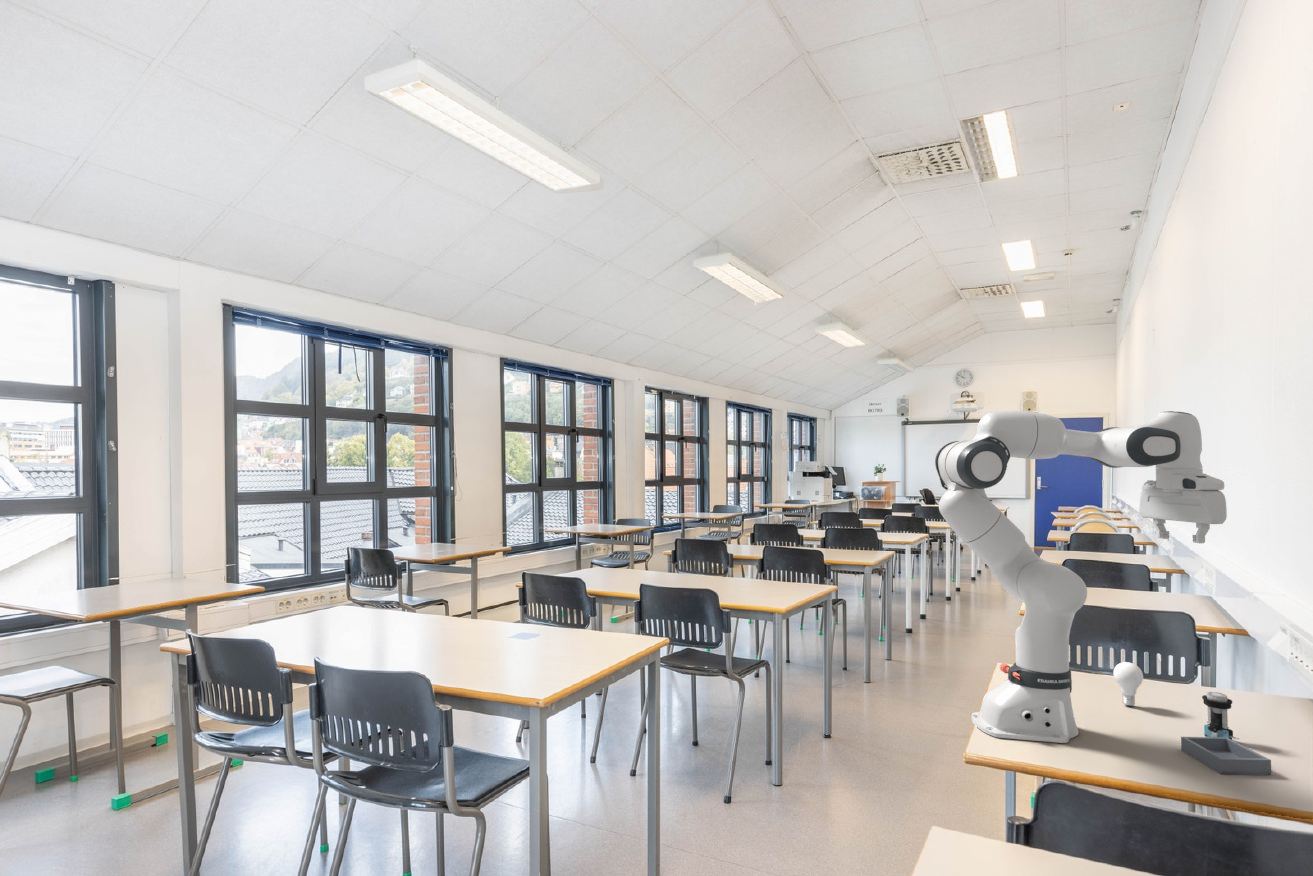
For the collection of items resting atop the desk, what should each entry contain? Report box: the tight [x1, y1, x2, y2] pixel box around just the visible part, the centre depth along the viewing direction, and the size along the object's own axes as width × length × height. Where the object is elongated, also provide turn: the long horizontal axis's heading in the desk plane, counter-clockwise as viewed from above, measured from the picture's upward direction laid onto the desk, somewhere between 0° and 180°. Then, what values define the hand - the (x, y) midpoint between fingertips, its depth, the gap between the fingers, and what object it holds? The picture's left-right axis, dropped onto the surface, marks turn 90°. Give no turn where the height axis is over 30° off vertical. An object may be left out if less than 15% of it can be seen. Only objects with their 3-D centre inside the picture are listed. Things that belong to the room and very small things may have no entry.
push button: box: [1201, 691, 1240, 744], centre depth 159 cm, size 7×5×10 cm
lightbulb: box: [1112, 661, 1144, 708], centre depth 182 cm, size 6×6×11 cm
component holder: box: [1180, 736, 1272, 776], centre depth 148 cm, size 10×12×3 cm
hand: (1180, 540), depth 166 cm, fingers open, 8 cm apart
